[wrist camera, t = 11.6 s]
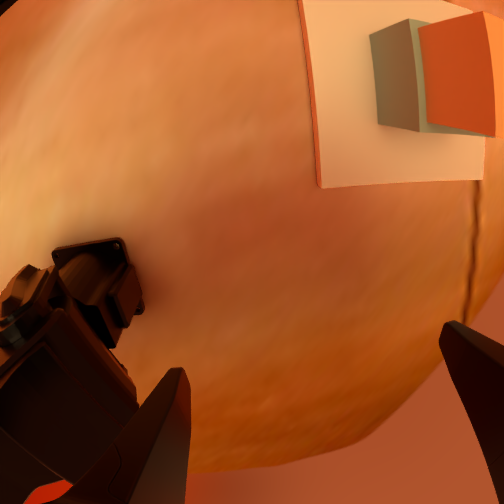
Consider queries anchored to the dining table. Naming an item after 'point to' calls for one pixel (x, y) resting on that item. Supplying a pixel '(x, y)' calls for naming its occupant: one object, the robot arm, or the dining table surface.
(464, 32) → the orange block
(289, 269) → the dining table surface
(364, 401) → the dining table surface
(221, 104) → the dining table surface
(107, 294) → the robot arm
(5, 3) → the dark piece
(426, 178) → the base plate
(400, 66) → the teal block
